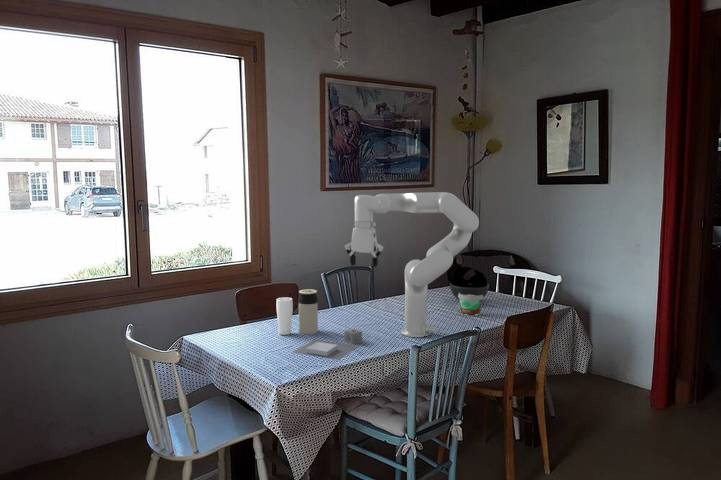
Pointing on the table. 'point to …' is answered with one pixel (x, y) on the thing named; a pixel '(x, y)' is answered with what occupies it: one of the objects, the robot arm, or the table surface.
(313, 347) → the tile
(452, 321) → the table surface
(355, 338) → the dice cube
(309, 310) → the travel mug
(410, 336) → the robot arm
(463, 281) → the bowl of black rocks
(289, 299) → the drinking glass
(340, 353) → the mat
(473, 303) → the food container
